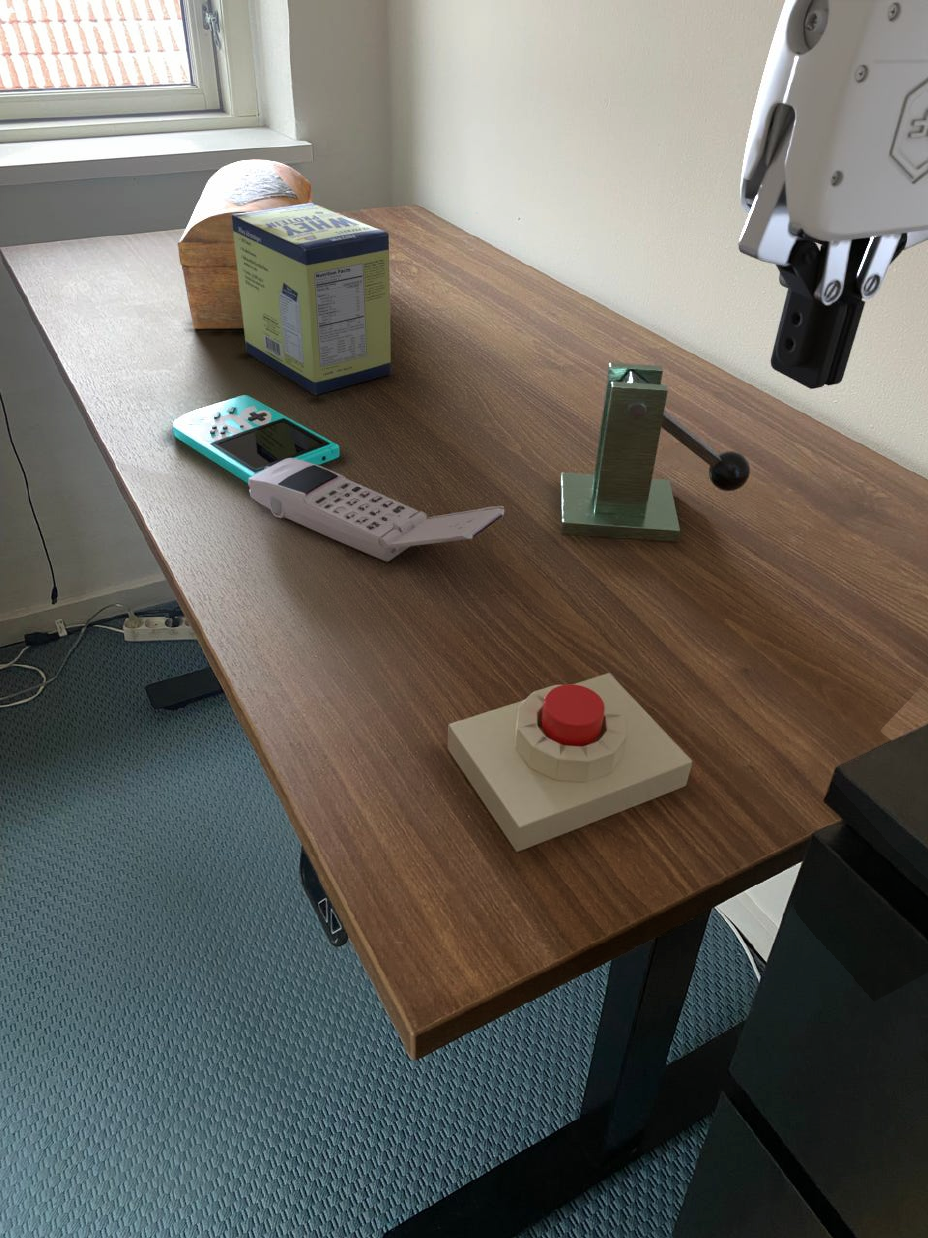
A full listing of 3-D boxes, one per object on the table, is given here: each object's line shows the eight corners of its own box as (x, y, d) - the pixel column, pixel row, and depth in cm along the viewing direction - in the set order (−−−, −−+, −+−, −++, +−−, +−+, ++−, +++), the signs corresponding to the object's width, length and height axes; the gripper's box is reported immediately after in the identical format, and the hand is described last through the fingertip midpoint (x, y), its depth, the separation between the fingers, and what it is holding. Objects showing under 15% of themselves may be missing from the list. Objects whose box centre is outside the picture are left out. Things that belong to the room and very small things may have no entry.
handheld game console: (248, 403, 98) (247, 391, 98) (344, 456, 90) (343, 443, 89) (164, 431, 93) (162, 418, 92) (257, 490, 84) (256, 477, 83)
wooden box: (320, 330, 116) (314, 212, 107) (185, 329, 114) (168, 210, 106) (325, 258, 139) (320, 157, 131) (214, 257, 138) (201, 155, 129)
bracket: (667, 490, 86) (693, 358, 79) (677, 542, 79) (707, 402, 71) (560, 483, 87) (575, 350, 79) (561, 534, 80) (577, 394, 72)
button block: (605, 696, 63) (613, 651, 61) (686, 786, 57) (698, 740, 54) (447, 749, 59) (448, 702, 56) (516, 853, 52) (521, 805, 50)
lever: (725, 486, 82) (754, 459, 81) (731, 505, 80) (761, 478, 78) (607, 393, 78) (634, 362, 76) (609, 410, 75) (637, 378, 74)
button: (580, 698, 57) (583, 677, 56) (612, 736, 55) (616, 714, 54) (530, 715, 56) (532, 694, 55) (561, 754, 54) (564, 732, 53)
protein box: (318, 334, 115) (310, 200, 105) (393, 375, 105) (392, 232, 96) (243, 352, 109) (228, 212, 100) (315, 397, 100) (306, 247, 90)
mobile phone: (467, 539, 68) (221, 436, 78) (462, 604, 71) (227, 497, 81) (510, 506, 72) (271, 413, 82) (503, 569, 75) (275, 472, 86)
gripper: (862, -119, 28) (733, 435, 39) (1161, -97, 34) (974, 382, 45) (705, -118, 33) (631, 370, 44) (987, -99, 39) (858, 330, 50)
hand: (804, 375), depth 45 cm, fingers closed
